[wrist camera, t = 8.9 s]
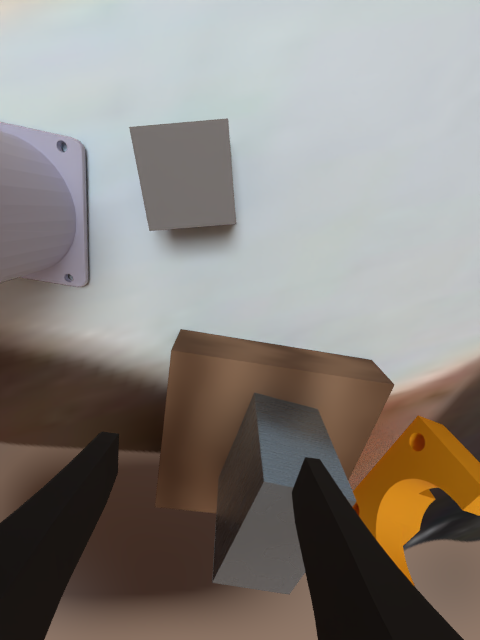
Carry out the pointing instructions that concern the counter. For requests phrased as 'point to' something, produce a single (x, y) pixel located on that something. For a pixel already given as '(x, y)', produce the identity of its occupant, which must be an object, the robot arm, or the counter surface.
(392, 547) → the pipe clamp
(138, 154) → the grey rubber block
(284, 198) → the counter surface
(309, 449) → the block
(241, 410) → the walnut stand
